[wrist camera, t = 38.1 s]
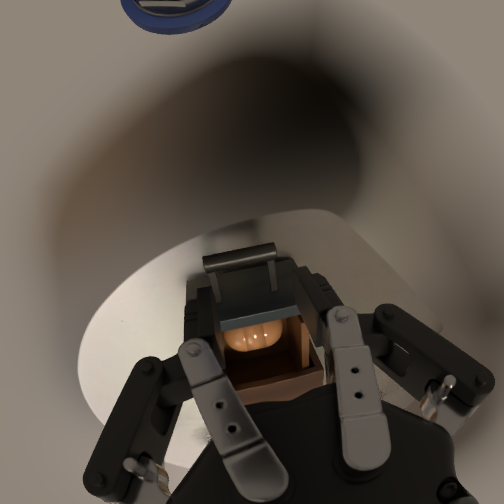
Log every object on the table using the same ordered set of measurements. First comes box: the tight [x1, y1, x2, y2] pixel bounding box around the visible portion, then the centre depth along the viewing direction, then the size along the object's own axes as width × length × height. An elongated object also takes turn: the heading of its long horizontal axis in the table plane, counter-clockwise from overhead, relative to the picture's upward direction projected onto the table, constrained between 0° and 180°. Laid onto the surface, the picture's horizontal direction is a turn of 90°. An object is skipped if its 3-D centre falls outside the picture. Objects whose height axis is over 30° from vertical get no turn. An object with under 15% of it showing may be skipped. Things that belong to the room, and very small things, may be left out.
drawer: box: [186, 242, 309, 386], centre depth 28 cm, size 18×11×7 cm, turn 8°
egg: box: [223, 319, 283, 352], centre depth 29 cm, size 6×4×4 cm
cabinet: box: [233, 338, 324, 405], centre depth 34 cm, size 15×13×9 cm
